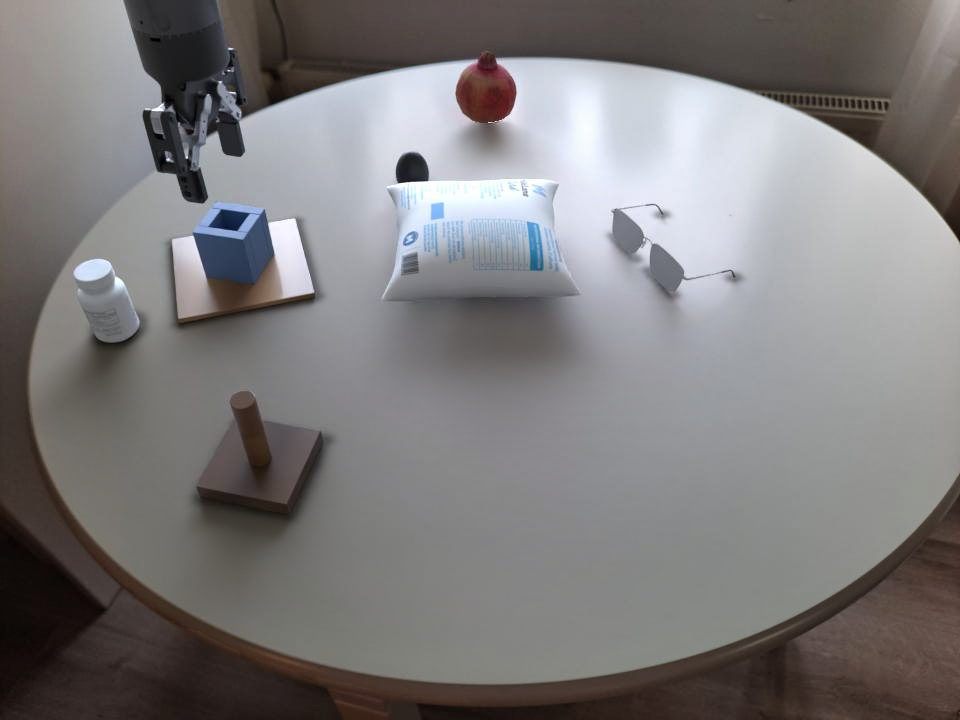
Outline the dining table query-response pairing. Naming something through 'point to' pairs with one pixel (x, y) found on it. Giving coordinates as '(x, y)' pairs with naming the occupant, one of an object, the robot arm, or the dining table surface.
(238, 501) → the dowel stand
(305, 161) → the dining table surface
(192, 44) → the robot arm
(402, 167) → the black rounded dome
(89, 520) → the dining table surface
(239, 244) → the blue pencil cup
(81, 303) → the pill bottle
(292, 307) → the dining table surface
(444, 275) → the pouch
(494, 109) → the fruit
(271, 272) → the wooden board
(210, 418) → the dining table surface
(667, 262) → the eyeglasses
